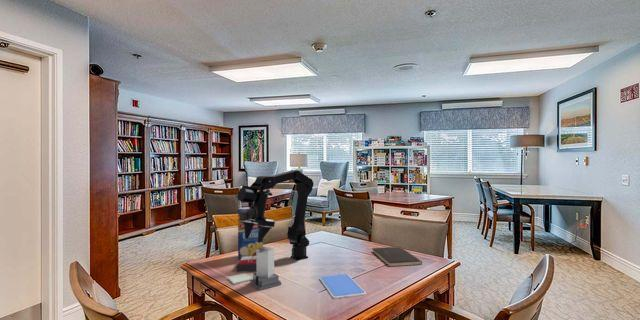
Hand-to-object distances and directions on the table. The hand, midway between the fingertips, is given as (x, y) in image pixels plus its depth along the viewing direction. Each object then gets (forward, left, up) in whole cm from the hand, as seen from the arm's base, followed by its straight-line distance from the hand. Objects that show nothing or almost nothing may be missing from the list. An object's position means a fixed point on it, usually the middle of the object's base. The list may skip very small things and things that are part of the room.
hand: (252, 240), depth 134 cm
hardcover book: (-65, +22, -14) cm, 70 cm away
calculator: (-4, -6, -14) cm, 16 cm away
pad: (+8, +5, -14) cm, 16 cm away
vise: (+1, +15, -14) cm, 20 cm away
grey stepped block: (+2, +15, -10) cm, 18 cm away
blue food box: (-8, -20, -14) cm, 26 cm away
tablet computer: (-22, +34, -14) cm, 42 cm away
